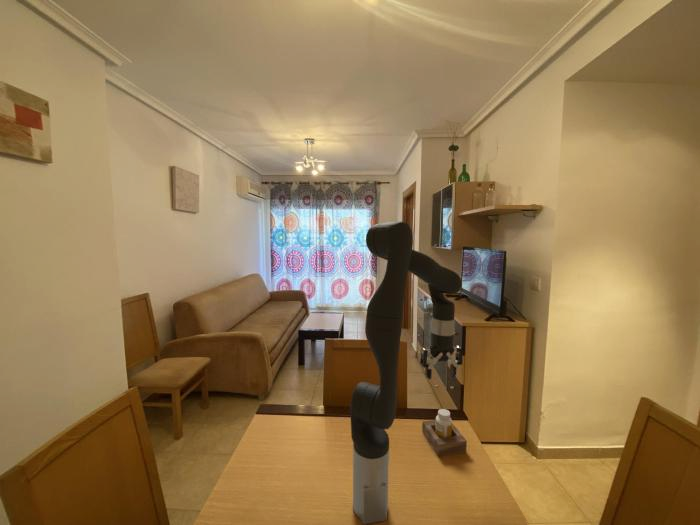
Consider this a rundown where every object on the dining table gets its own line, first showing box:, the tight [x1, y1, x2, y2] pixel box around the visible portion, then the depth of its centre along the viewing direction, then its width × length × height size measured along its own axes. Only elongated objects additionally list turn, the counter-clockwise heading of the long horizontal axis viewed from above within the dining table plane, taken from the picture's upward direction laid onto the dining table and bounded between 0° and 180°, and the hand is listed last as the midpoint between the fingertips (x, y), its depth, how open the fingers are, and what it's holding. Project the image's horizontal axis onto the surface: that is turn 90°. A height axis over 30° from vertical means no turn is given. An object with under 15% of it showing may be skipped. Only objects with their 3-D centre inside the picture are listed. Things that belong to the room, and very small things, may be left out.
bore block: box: [421, 419, 467, 457], centre depth 103 cm, size 12×10×4 cm
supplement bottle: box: [435, 408, 453, 438], centre depth 102 cm, size 5×5×10 cm
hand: (440, 377), depth 101 cm, fingers open, 8 cm apart
